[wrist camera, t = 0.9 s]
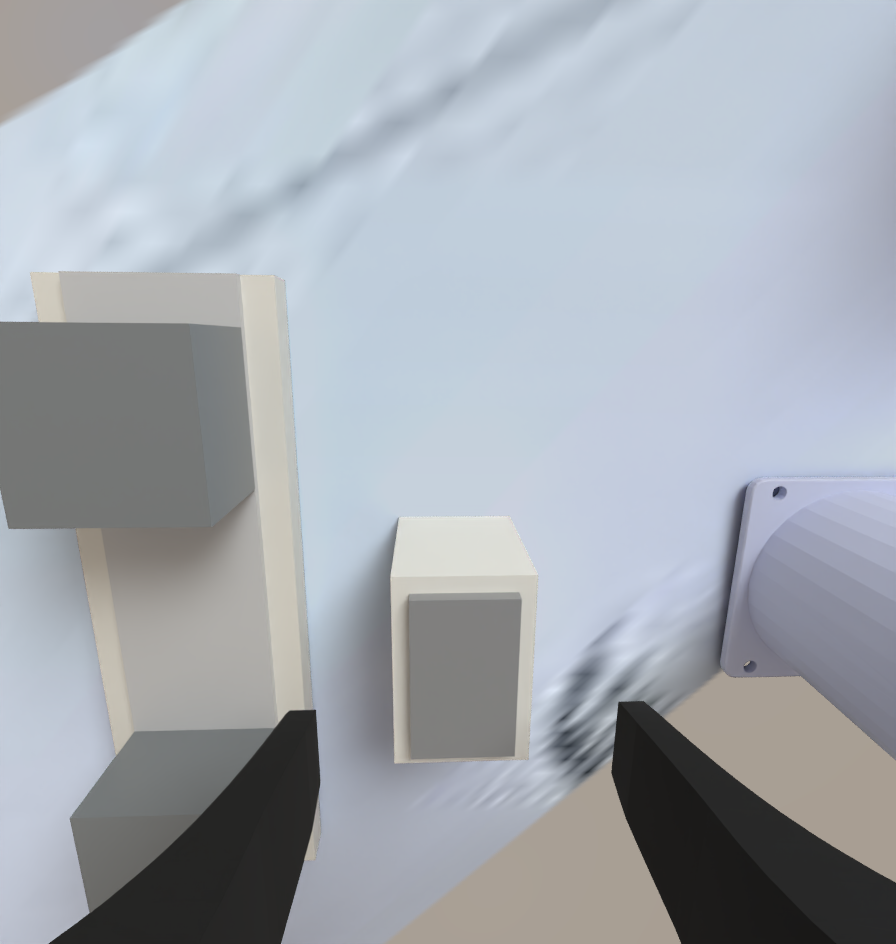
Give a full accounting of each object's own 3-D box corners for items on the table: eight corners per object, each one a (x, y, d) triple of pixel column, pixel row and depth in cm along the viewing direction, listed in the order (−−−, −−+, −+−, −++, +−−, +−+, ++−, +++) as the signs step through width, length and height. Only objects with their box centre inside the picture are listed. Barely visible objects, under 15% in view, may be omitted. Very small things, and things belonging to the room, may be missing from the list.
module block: (509, 515, 19) (541, 581, 14) (503, 660, 20) (531, 770, 15) (399, 516, 19) (389, 583, 14) (401, 662, 20) (393, 774, 15)
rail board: (285, 280, 17) (226, 254, 12) (321, 832, 22) (291, 972, 17) (58, 277, 16) (-98, 250, 11) (151, 838, 22) (72, 981, 17)
